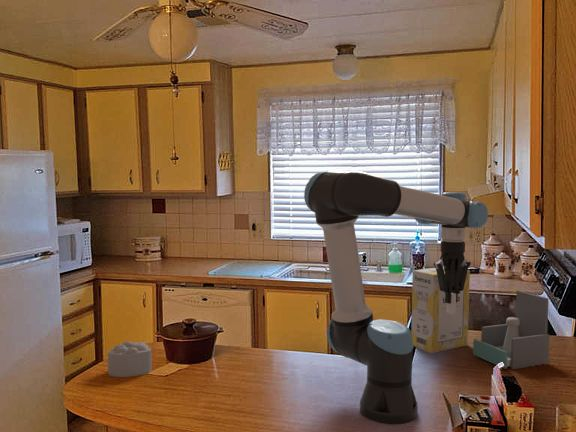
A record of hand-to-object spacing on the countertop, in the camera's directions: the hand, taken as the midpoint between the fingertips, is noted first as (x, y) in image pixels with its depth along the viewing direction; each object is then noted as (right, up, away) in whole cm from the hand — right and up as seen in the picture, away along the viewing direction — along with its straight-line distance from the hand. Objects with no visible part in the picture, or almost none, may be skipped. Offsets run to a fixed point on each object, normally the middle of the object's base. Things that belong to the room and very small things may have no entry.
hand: (450, 312), depth 180 cm
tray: (+22, -17, +10) cm, 30 cm away
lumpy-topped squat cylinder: (-103, -18, -2) cm, 105 cm away
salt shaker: (+24, -17, +10) cm, 31 cm away
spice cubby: (+24, -18, +11) cm, 32 cm away
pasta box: (+3, -17, +26) cm, 31 cm away
